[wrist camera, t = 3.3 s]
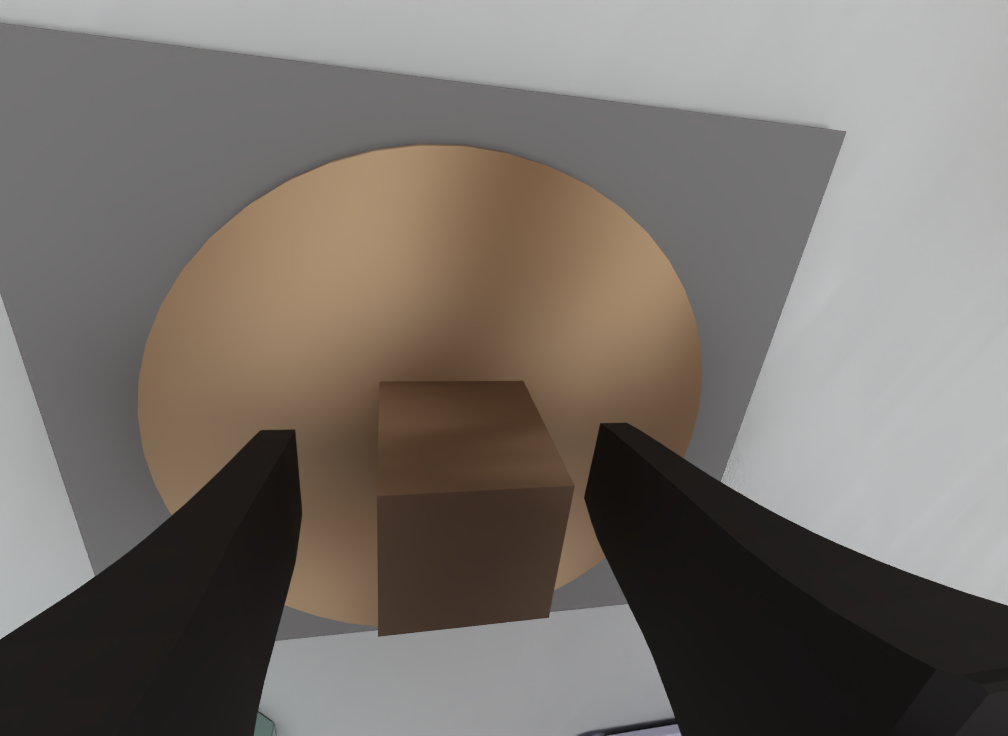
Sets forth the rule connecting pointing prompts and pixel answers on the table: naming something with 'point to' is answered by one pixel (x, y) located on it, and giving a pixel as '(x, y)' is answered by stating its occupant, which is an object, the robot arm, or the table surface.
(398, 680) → the table surface
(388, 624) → the lid
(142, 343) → the mat
